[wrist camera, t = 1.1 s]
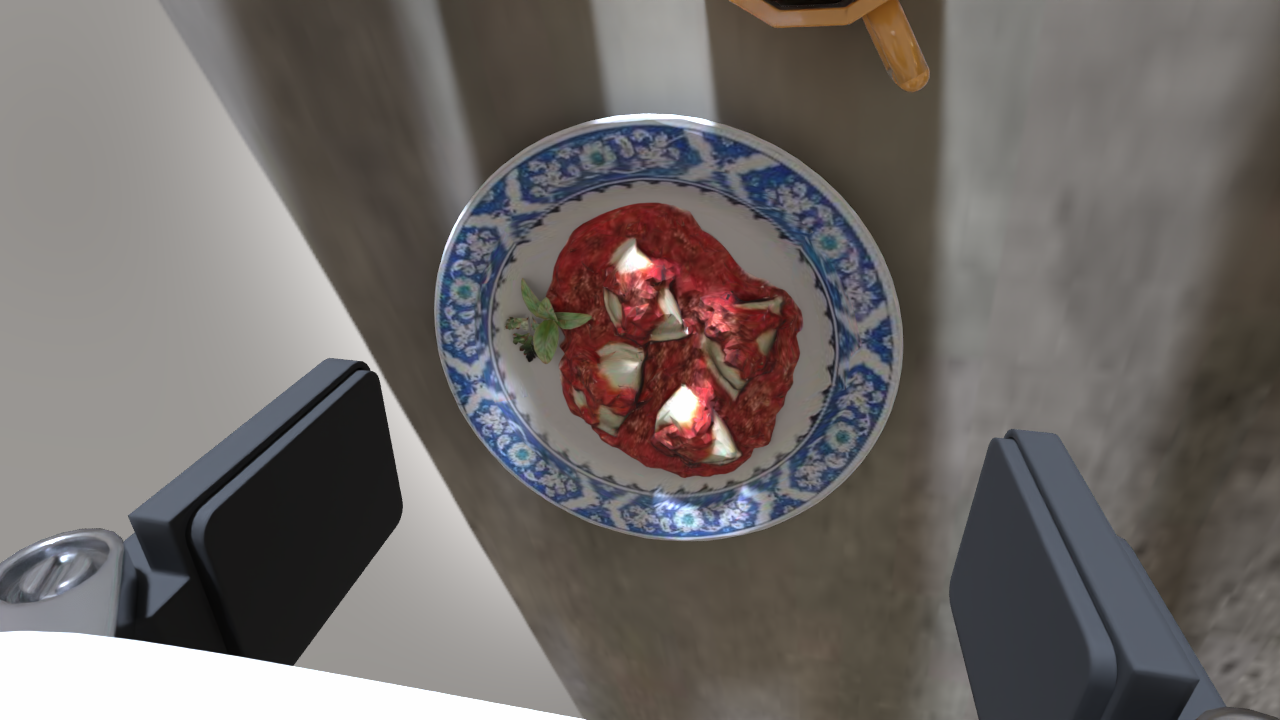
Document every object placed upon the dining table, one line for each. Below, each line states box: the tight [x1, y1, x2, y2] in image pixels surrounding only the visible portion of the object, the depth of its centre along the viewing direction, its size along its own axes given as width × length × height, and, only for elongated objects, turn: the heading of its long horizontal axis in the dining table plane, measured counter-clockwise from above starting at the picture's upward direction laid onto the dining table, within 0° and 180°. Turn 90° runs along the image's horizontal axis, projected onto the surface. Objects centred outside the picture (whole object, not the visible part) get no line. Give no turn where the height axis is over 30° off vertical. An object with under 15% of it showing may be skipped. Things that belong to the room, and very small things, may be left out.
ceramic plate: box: [434, 114, 903, 541], centre depth 40 cm, size 26×26×3 cm
